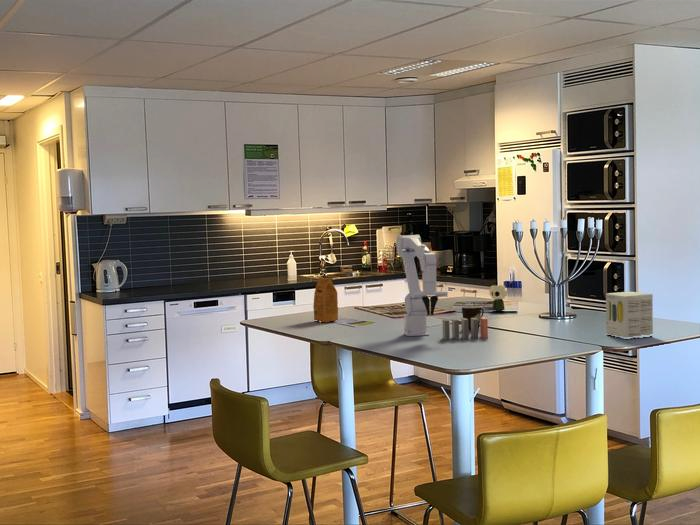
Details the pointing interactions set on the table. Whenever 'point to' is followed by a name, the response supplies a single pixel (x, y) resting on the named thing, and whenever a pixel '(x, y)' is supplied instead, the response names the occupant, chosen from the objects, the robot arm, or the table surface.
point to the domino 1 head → (446, 329)
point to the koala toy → (498, 297)
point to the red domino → (483, 327)
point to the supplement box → (629, 314)
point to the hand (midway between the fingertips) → (430, 314)
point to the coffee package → (325, 301)
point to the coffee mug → (472, 313)
